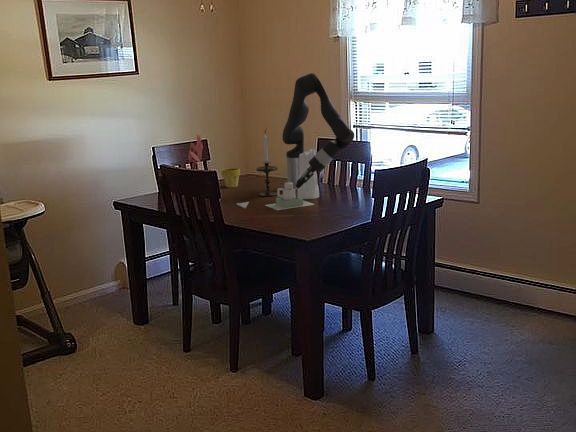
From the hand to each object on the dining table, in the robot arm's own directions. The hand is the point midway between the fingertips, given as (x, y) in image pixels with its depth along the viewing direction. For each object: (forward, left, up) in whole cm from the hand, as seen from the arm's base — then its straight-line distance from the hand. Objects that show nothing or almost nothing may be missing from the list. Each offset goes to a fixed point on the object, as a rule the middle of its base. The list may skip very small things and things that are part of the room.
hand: (297, 185), depth 322 cm
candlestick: (+1, -33, -10) cm, 35 cm away
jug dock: (+4, -2, -10) cm, 11 cm away
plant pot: (+7, -69, -10) cm, 70 cm away
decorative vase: (-12, -13, -10) cm, 21 cm away
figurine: (+37, -30, -10) cm, 48 cm away
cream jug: (+5, -3, -9) cm, 11 cm away
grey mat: (+17, -16, -10) cm, 25 cm away
